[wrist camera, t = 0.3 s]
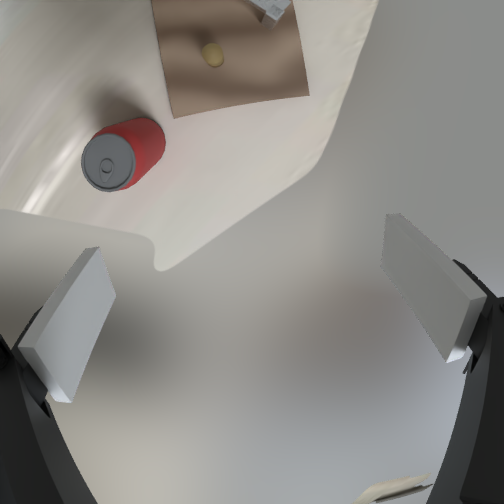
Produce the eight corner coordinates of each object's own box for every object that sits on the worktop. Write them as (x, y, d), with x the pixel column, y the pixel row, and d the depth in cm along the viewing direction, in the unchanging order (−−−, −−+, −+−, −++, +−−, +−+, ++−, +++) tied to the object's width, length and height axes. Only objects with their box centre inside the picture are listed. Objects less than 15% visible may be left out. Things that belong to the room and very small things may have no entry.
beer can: (112, 161, 37) (71, 188, 26) (124, 112, 34) (83, 121, 24) (158, 173, 38) (132, 205, 28) (173, 124, 36) (148, 137, 25)
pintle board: (150, -23, 26) (134, -44, 19) (279, -44, 26) (288, -69, 19) (176, 117, 35) (163, 123, 29) (306, 95, 35) (323, 95, 28)
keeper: (269, 32, 31) (276, 20, 25) (232, 9, 29) (232, -7, 23) (283, 17, 30) (292, 3, 24) (246, -7, 28) (249, -25, 22)
